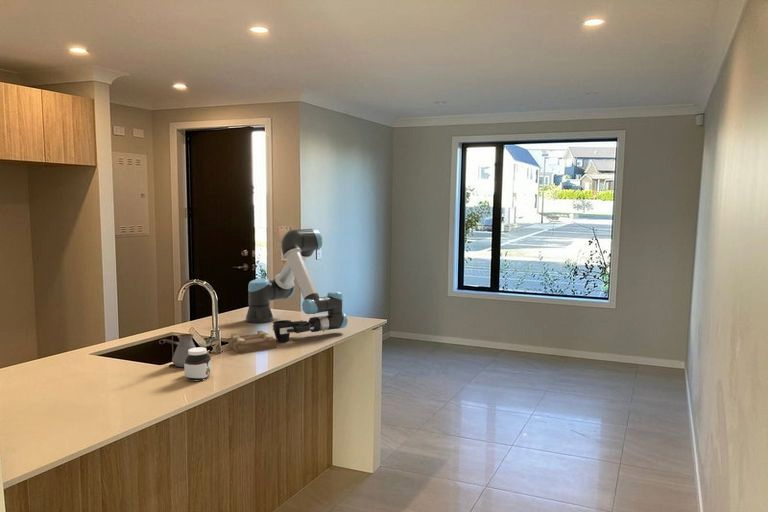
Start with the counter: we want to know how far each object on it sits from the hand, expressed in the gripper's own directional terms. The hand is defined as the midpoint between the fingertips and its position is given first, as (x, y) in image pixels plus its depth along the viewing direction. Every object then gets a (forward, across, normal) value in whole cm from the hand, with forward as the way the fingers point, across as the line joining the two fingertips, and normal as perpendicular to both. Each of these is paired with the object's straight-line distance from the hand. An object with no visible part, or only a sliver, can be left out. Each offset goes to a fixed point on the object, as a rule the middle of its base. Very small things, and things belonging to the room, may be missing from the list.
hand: (276, 329), depth 282 cm
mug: (-5, 0, -6) cm, 8 cm away
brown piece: (+14, -3, -6) cm, 15 cm away
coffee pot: (+51, -20, -6) cm, 55 cm away
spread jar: (+48, -35, -6) cm, 59 cm away
